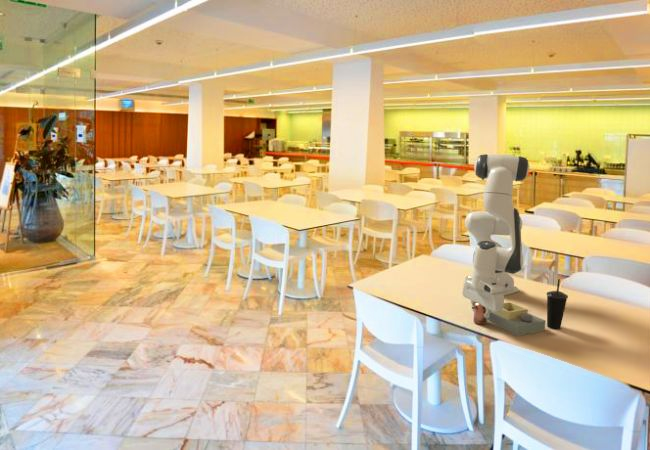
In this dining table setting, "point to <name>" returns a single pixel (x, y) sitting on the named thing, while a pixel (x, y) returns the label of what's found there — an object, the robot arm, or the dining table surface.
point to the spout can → (479, 314)
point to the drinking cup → (555, 307)
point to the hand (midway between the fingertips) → (480, 314)
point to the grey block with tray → (516, 320)
